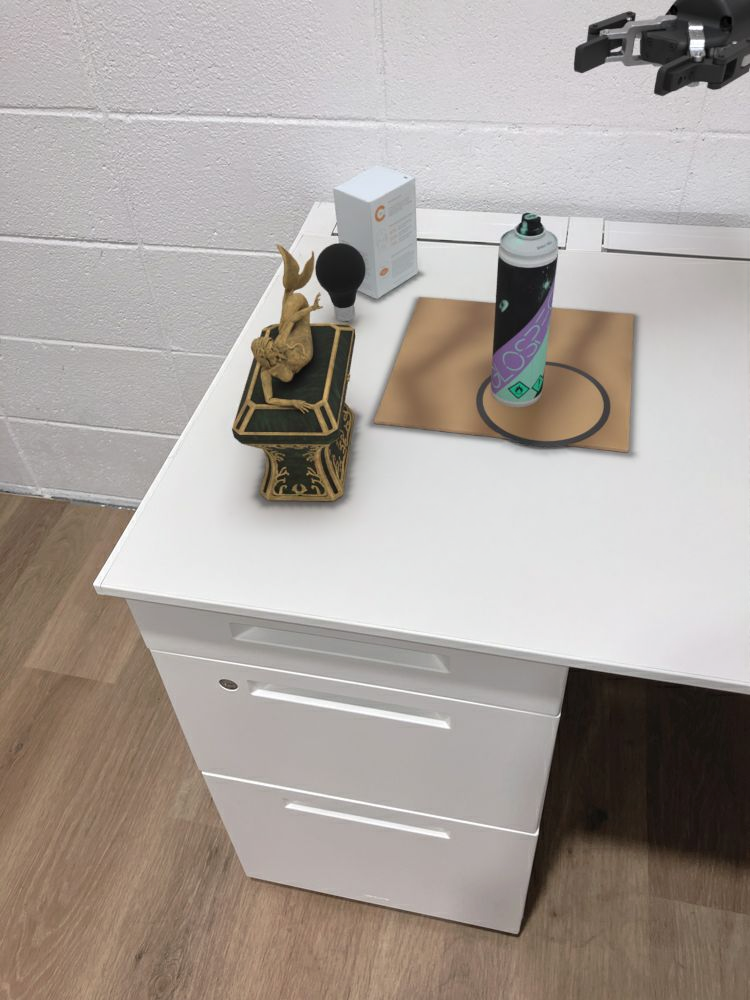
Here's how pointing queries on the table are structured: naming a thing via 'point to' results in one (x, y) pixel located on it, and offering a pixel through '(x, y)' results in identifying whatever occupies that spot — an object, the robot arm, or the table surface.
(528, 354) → the spray can
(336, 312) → the light bulb
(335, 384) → the decorative box
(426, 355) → the drawing board
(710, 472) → the table surface
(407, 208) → the small box
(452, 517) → the table surface
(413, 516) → the table surface
